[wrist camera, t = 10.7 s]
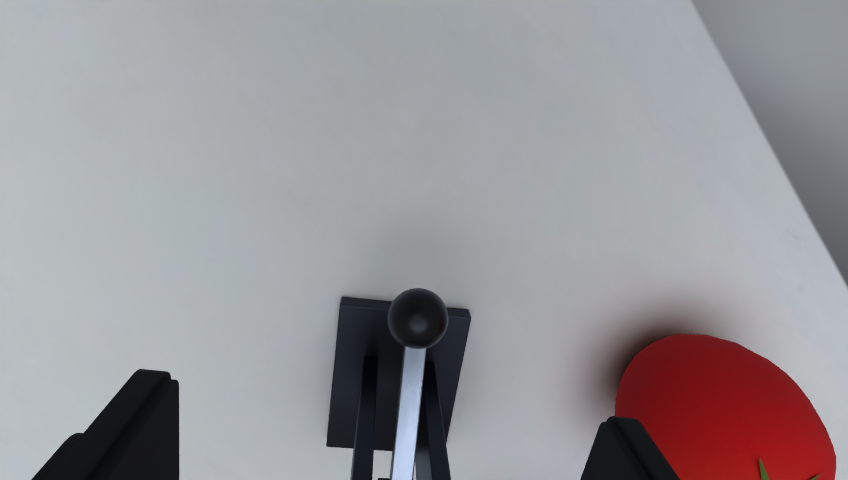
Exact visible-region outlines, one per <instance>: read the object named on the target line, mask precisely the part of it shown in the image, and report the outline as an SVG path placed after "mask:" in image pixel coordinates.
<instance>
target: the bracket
mask: <svg viewBox="0 0 848 480" xmlns="http://www.w3.org/2000/svg"><path fill="white" fill-rule="evenodd" d="M391 304H392V302H387V301H377V300H367V299H358V298H348V297H342V298H341V302H340V309H339V320H338V330H337V340H336V351H335V361H334V371H333V382H332V392H331V402H330V413H329V423H328V433H327V444H326V446H327V447H341V448H354V450H353V459H352V469H351V479H350V480H372V471H373V451H374V450H385V451H393V441H394V432H395V423H396V414H397V404H398V395H399V386H400V376H401V367H402V358H403V349H404V346H402V345H401V344H399V343H398V342H397V341H396V340H395V339H394V338H393V336H392V334H391V333H390V330H389V327H388V320H387V319H388V311H389V308H390V306H391ZM446 309H447V312H448V326H447V329H446V332H445V334H444V335H443V337H442V338H441V340H440V341H439V342H438V343H436V344H435V345H433V346H432V347H429V348H427V349H426V357H425V366H424V376H423V386H422V395H421V405H420V415H419V425H418V434H417V444H416V454H415V465H416V480H451V477H450V469H449V462H448V455H447V448H446V442H447V437H448V432H449V427H450V422H451V416H452V411H453V406H454V401H455V396H456V391H457V386H458V381H459V376H460V371H461V366H462V361H463V356H464V351H465V346H466V341H467V336H468V331H469V326H470V321H471V316H470V313H469V310H466V309H456V308H446Z"/></svg>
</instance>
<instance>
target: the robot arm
mask: <svg viewBox="0 0 848 480" xmlns="http://www.w3.org/2000/svg"><path fill="white" fill-rule="evenodd" d="M32 480H179V383H178V381H177V380H172V379H171V375H170V373H169V372H165V371H155V370H145V369H139V370H137V371H136V372H135V373H134V374H133V375H132V376H131V377H130V379H129V380H128V381H127V382H126V383H125V385H124V386H123V387H122V388H121V389H120V391H119V392H118V393H117V394H116V395H115V396H114V398H113V399H112V400H111V401H110V402H109V404H108V405H107V406H106V407H105V408H104V410H103V411H102V412H101V413H100V414H99V415H98V417H97V418H96V419H95V420H94V421H93V423H92V424H91V425H90V426H89V427H88V429H87V430H86V431H85V432H84V433H76V434H74V435H72V436H70V437H69V438H68V439H67V440H66V441H65V442H64V443H63V444H62V445H61V446H60V448H59V449H58V450H57V451H56V452H55V453H54V454H53V456H52V457H51V458H50V459H49V460H48V461H47V462H46V464H45V465H44V466H43V467H42V468H41V469H40V470H39V472H38V473H37V474H36V475H35V476H34V477H33V478H32ZM580 480H680V479H679V477H678V476H677V474H676V473H675V471H674V470H673V468H672V467H671V466H670V464H669V463H668V461H667V460H666V458H665V457H664V455H663V454H662V453H661V451H660V450H659V448H658V447H657V445H656V444H655V442H654V441H653V440H652V438H651V437H650V435H649V434H648V432H647V431H646V429H645V428H644V427H643V425H642V424H641V422H640V421H639V420H638V419H635V418H627V417H617V416H611V417H609V418H608V419H607V421H606V422H602V423H601V424H600V426H599V429H598V432H597V434H596V437H595V440H594V443H593V446H592V449H591V451H590V454H589V457H588V460H587V463H586V465H585V468H584V471H583V474H582V477H581V479H580Z"/></svg>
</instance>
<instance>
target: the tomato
mask: <svg viewBox="0 0 848 480" xmlns="http://www.w3.org/2000/svg"><path fill="white" fill-rule="evenodd" d="M615 416H617V417H627V418H635V419H638V420H639V421H640V422H641V424H642V425H643V427H644V428H645V429H646V431H647V432H648V434H649V435H650V437H651V438H652V440H653V441H654V442H655V444H656V445H657V447H658V448H659V450H660V451H661V453H662V454H663V455H664V457H665V458H666V460H667V461H668V463H669V464H670V466H671V467H672V468H673V470H674V471H675V473H676V474H677V476H678V477H679V479H680V480H834V479H835V472H836V455H835V452H834V448H833V445H832V443H831V440H830V438H829V435H828V433H827V430H826V428H825V426H824V424H823V423H822V421H821V419H820V417H819V416H818V414H817V412H816V411H815V409H814V407H813V405H812V404H811V402H810V400H809V399H808V398H807V396H806V395H805V394H804V393H803V391H802V390H801V389H800V387H799V386H798V385H797V384H796V383H795V382H794V381H793V380H792V379H791V378H790V377H789V376H788V375H787V374H786V373H785V372H784V371H783V370H781V369H780V368H779V367H777V366H776V365H775V364H773V363H772V362H771V361H769V360H768V359H766V358H764V357H762V356H760V355H758V354H756V353H754V352H752V351H750V350H748V349H747V348H745V347H743V346H741V345H739V344H737V343H735V342H731V341H727V340H723V339H719V338H715V337H712V336H708V335H695V334H677V335H671V336H667V337H665V338H662V339H660V340H657V341H655V342H653V343H651V344H650V345H648V346H646V347H645V348H644V349H642V350H641V351H640V352H639V353H638V354H637V355H636V356H635V357H634V358H633V359H632V361H631V362H630V364H629V365H628V367H627V368H626V370H625V372H624V374H623V376H622V378H621V381H620V385H619V388H618V392H617V395H616V400H615Z"/></svg>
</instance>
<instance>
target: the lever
mask: <svg viewBox="0 0 848 480" xmlns="http://www.w3.org/2000/svg"><path fill="white" fill-rule="evenodd" d="M387 320H388V327H389V330H390V333H391V334H392V336H393V338H394V339H395V340H396V341H397V342H398V343H399V344H401V345H402V346H404V349H403V358H402V367H401V376H400V386H399V395H398V404H397V414H396V423H395V432H394V441H393V451H392V460H391V469H390V479H388V478H378V480H413V473H414V463H415V454H416V444H417V434H418V425H419V415H420V405H421V395H422V386H423V376H424V366H425V357H426V349H427V348H429V347H432V346H433V345H435V344H436V343H438V342H439V341H440V340H441V338H442V337H443V335H444V334H445V332H446V329H447V326H448V312H447V309H446V306H445V304H444V302H443V301H442V300H441V299H440V297H439V296H437V295H436V294H435V293H433V292H431V291H429V290H426V289H422V288H414V289H409V290H407V291H404V292H403V293H401V294H400V295H398V296H397V297H396V298H395V300H394V301H393V302H392V304H391V306H390V308H389V311H388V319H387Z"/></svg>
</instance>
